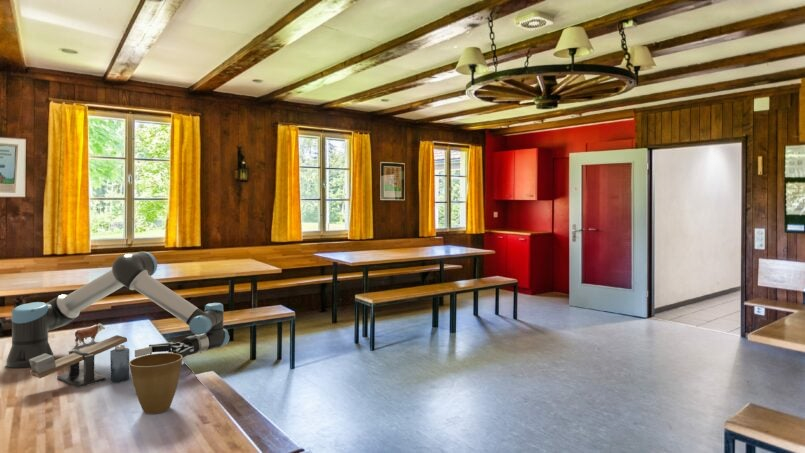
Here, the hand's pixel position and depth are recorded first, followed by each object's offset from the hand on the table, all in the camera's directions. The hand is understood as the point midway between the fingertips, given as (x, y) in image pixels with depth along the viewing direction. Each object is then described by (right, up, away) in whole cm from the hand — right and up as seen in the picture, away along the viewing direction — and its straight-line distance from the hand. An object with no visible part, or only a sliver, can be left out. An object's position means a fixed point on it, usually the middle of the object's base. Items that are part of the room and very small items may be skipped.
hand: (145, 356), depth 187 cm
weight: (-5, -7, -7) cm, 11 cm away
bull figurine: (-48, -5, +41) cm, 63 cm away
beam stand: (-19, -6, -8) cm, 22 cm away
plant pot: (+21, -8, -33) cm, 40 cm away
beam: (-19, +1, -8) cm, 21 cm away
